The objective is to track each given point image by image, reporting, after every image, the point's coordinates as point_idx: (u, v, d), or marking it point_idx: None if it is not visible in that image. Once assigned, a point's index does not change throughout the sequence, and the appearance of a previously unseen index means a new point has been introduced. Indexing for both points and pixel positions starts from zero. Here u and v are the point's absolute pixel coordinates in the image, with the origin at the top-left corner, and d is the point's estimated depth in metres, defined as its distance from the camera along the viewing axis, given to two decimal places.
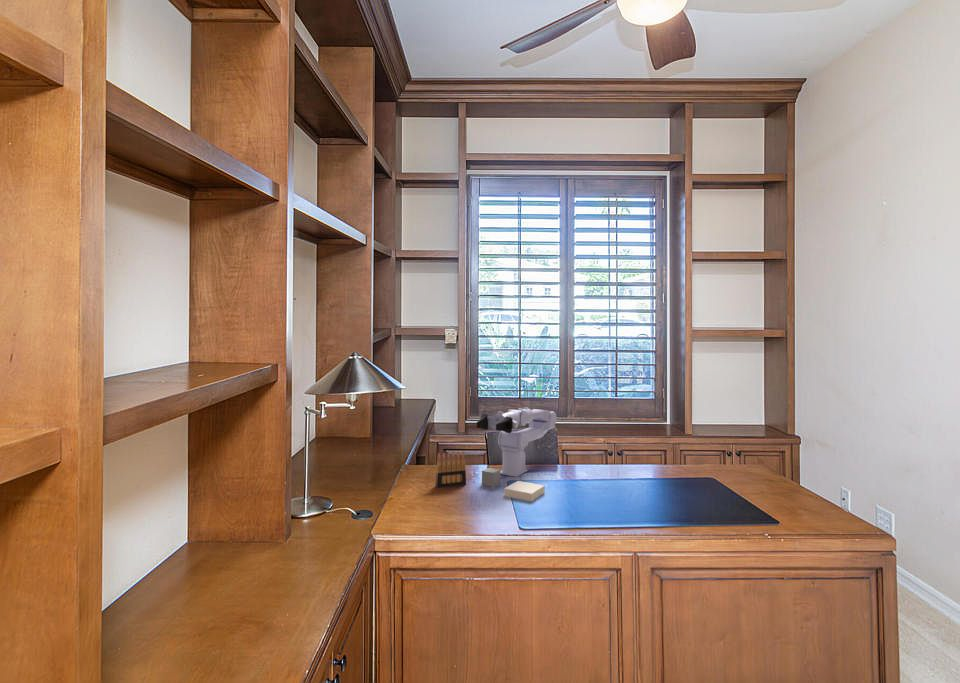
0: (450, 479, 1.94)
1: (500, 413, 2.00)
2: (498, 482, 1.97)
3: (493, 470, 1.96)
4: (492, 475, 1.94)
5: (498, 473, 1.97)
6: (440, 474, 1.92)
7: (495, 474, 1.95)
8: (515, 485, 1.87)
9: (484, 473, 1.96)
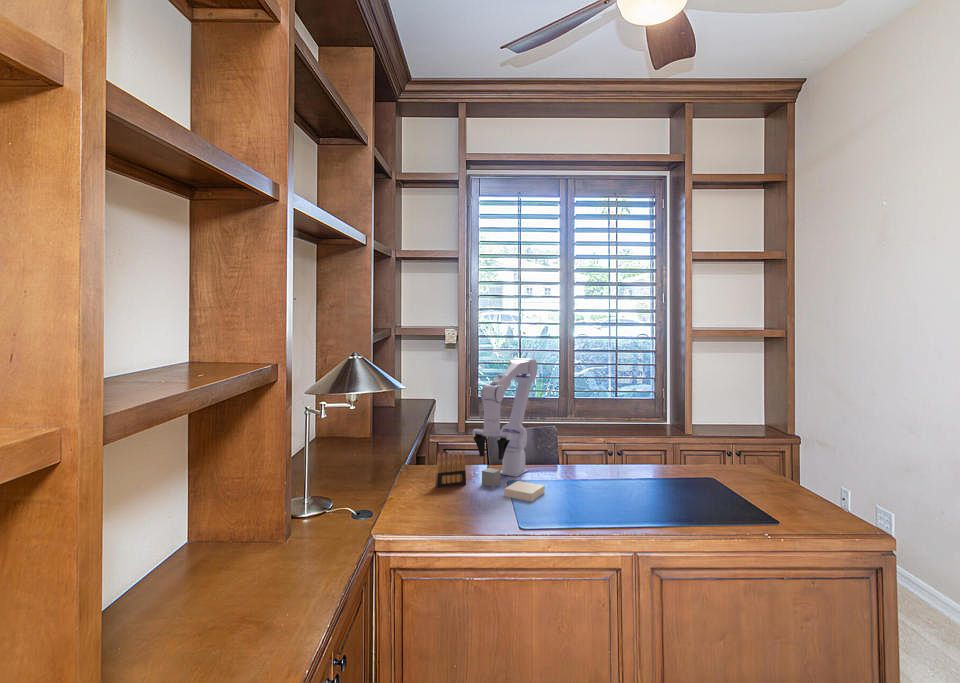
0: (450, 479, 1.94)
1: (488, 435, 1.93)
2: (498, 482, 1.97)
3: (493, 470, 1.96)
4: (492, 475, 1.94)
5: (498, 473, 1.97)
6: (440, 474, 1.92)
7: (495, 474, 1.95)
8: (515, 485, 1.87)
9: (484, 473, 1.96)
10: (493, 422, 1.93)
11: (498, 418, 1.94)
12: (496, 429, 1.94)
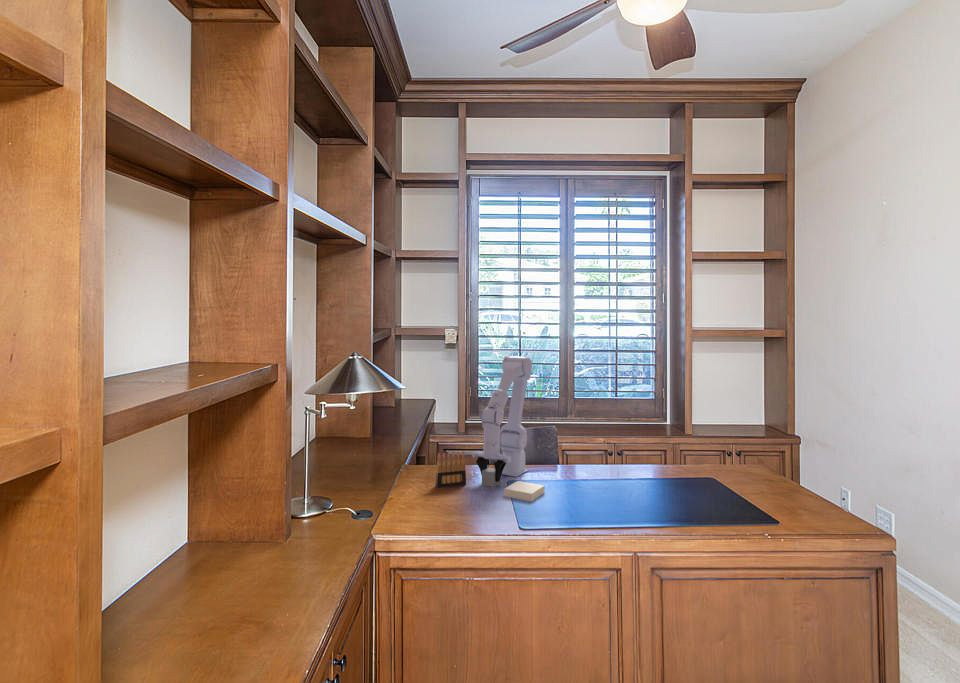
0: (450, 479, 1.94)
1: None
2: (498, 482, 1.97)
3: (493, 470, 1.96)
4: (492, 475, 1.94)
5: None
6: (440, 474, 1.92)
7: None
8: (515, 485, 1.87)
9: (484, 473, 1.96)
10: (493, 445, 1.94)
11: (498, 441, 1.95)
12: (496, 452, 1.94)
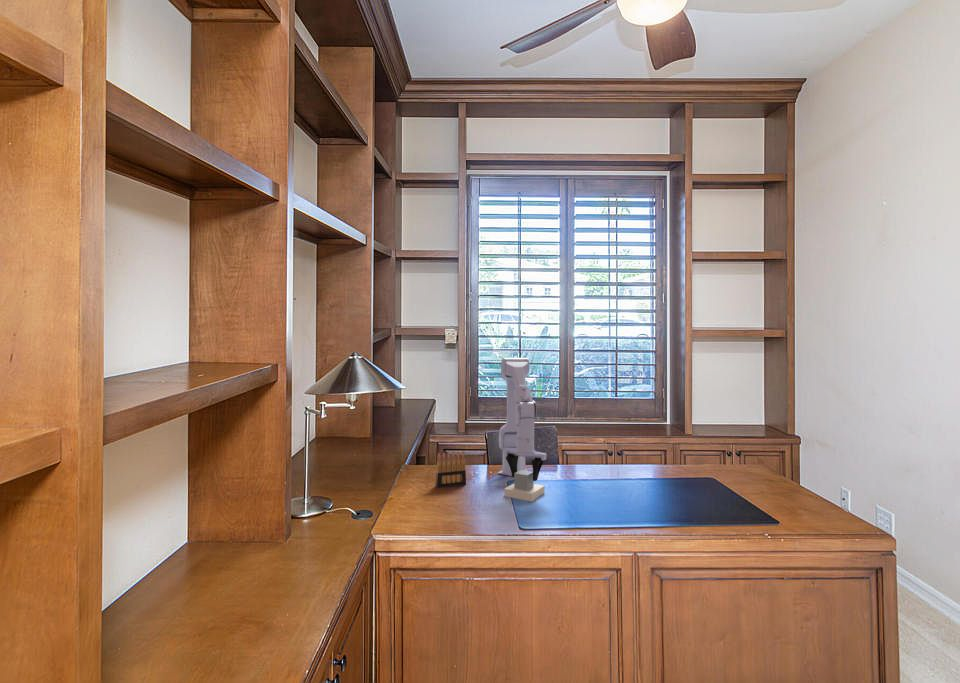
0: (450, 479, 1.94)
1: None
2: (531, 485, 1.85)
3: (526, 473, 1.85)
4: (526, 477, 1.83)
5: (531, 475, 1.85)
6: (440, 474, 1.92)
7: (528, 477, 1.83)
8: None
9: (517, 476, 1.84)
10: (527, 441, 1.83)
11: None
12: (530, 448, 1.83)
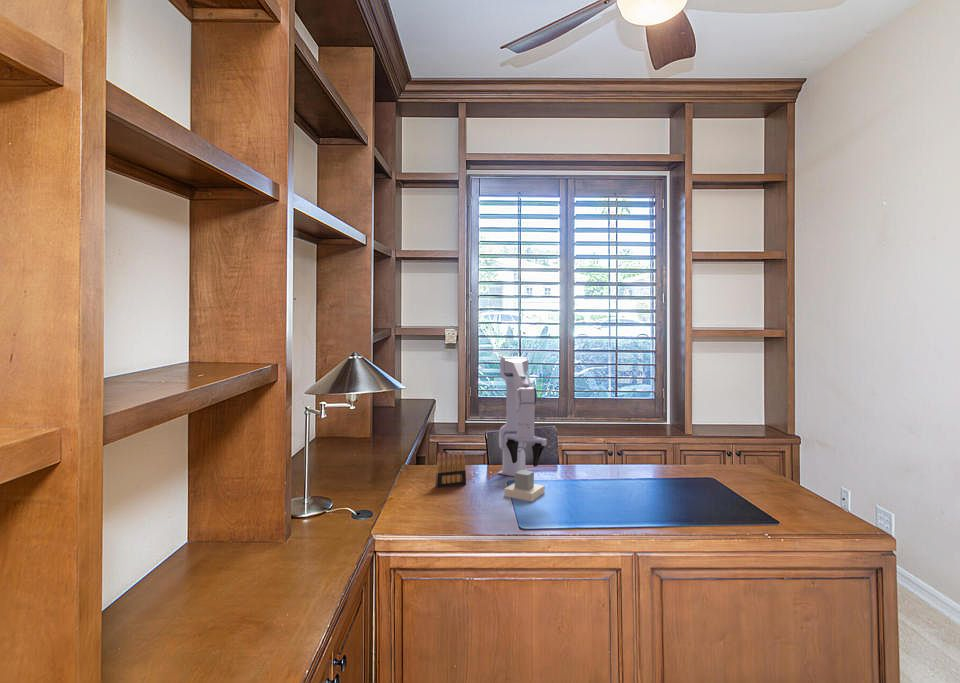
0: (450, 479, 1.94)
1: (522, 440, 1.82)
2: (532, 485, 1.86)
3: (527, 473, 1.85)
4: (526, 477, 1.83)
5: (532, 475, 1.85)
6: (440, 474, 1.92)
7: (529, 476, 1.83)
8: None
9: (517, 475, 1.84)
10: (527, 427, 1.82)
11: None
12: (530, 434, 1.83)
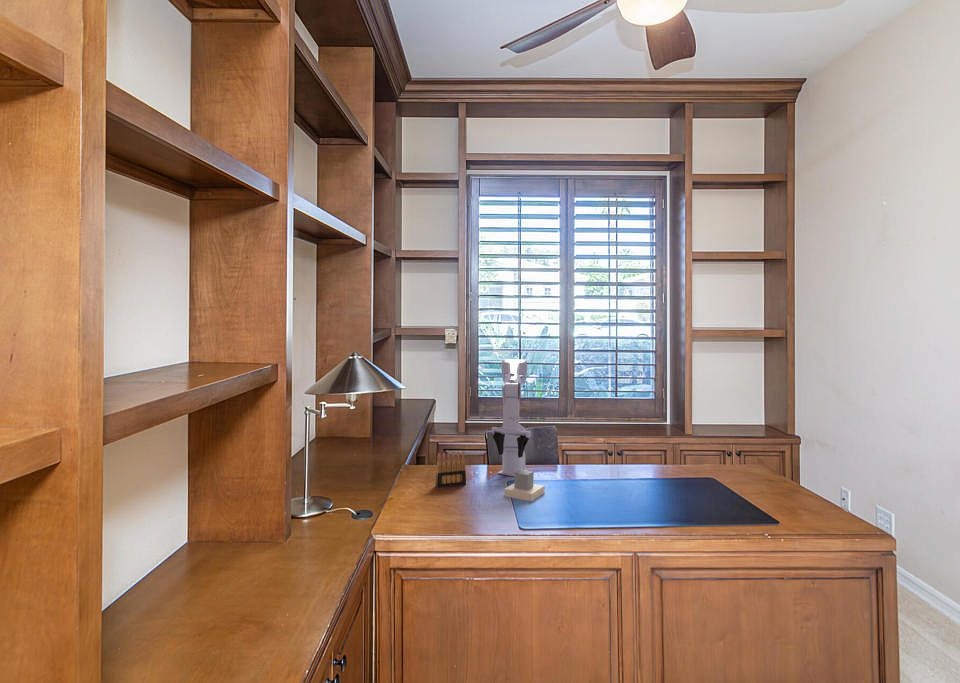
0: (450, 479, 1.94)
1: (507, 433, 1.92)
2: (531, 484, 1.86)
3: (526, 472, 1.85)
4: (526, 477, 1.83)
5: (531, 475, 1.86)
6: (440, 474, 1.92)
7: (529, 476, 1.84)
8: None
9: (517, 475, 1.85)
10: (512, 420, 1.93)
11: None
12: (515, 426, 1.93)
